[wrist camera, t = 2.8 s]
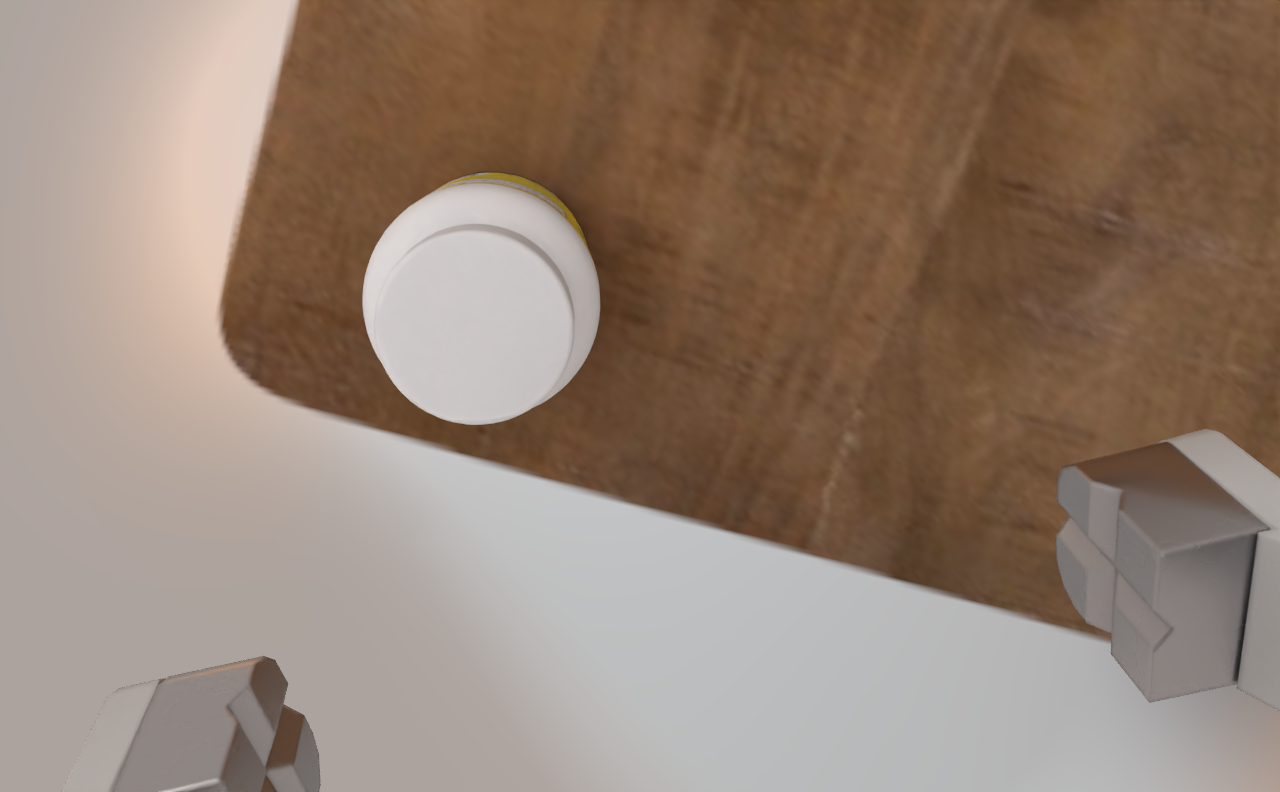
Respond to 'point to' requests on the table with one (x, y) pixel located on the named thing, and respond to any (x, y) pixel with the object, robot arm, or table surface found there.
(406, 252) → the supplement bottle
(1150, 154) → the table surface
